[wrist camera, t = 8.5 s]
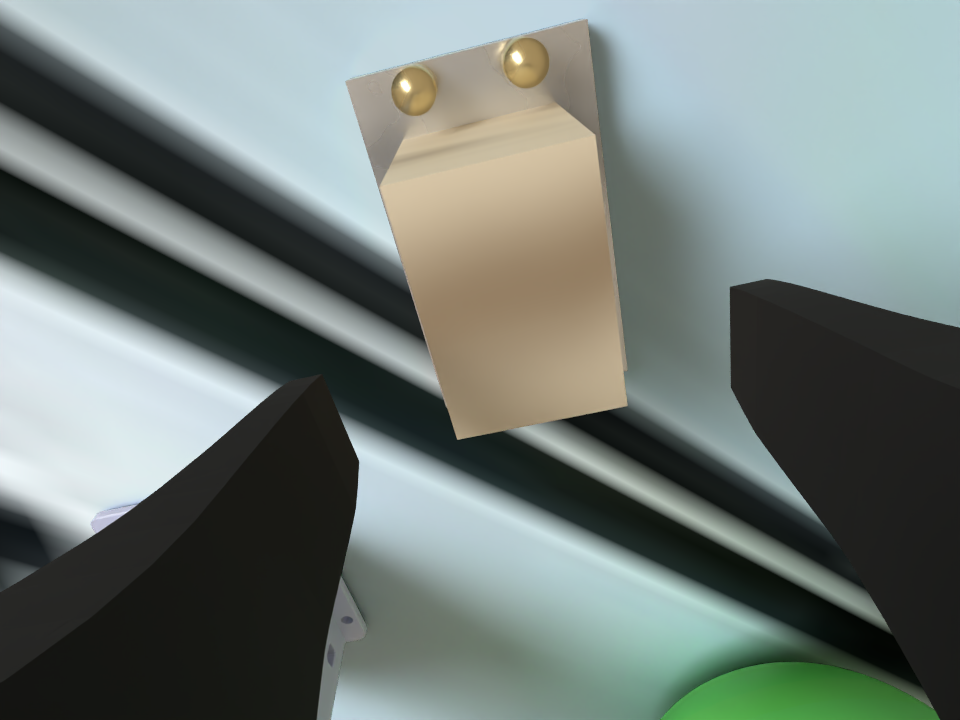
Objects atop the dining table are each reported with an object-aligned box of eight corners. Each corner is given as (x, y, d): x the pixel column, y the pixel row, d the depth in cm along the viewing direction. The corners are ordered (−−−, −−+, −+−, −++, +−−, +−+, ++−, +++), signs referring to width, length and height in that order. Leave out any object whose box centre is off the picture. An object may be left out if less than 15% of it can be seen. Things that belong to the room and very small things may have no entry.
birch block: (586, 312, 18) (627, 405, 13) (458, 339, 18) (457, 439, 14) (555, 102, 15) (595, 135, 10) (402, 140, 15) (379, 186, 11)
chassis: (620, 355, 20) (639, 396, 17) (446, 390, 20) (445, 435, 18) (579, 19, 15) (600, 18, 12) (351, 78, 15) (333, 86, 13)
